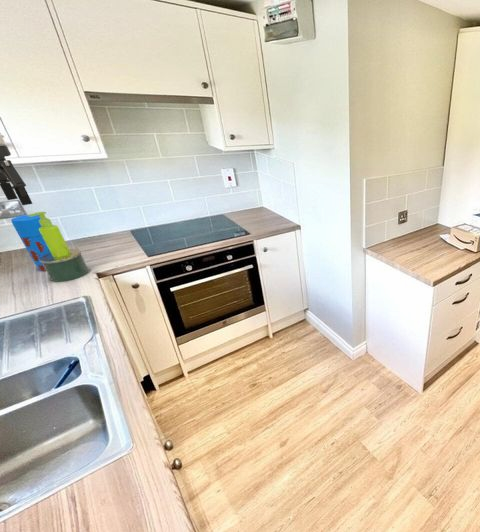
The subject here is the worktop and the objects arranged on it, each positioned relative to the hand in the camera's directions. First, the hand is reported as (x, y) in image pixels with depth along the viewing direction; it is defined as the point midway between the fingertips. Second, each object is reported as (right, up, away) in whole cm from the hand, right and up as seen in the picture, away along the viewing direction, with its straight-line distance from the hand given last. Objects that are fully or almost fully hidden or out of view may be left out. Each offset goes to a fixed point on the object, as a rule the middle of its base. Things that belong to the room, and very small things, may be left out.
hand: (20, 201), depth 127 cm
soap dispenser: (-3, -21, +19) cm, 28 cm away
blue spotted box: (-20, -26, +31) cm, 45 cm away
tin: (-4, -30, +23) cm, 38 cm away
